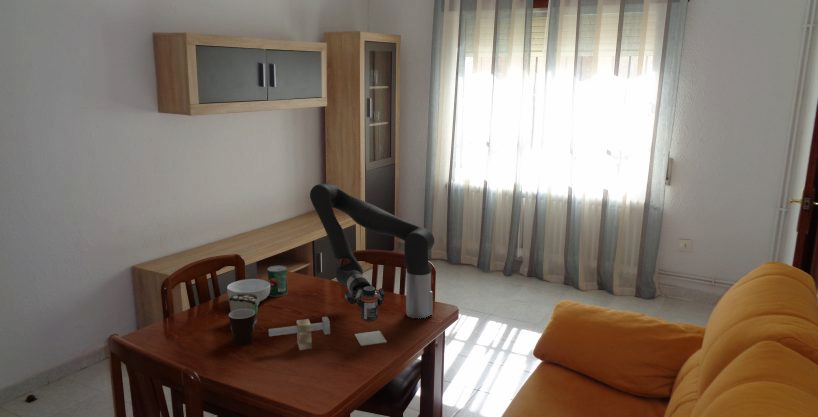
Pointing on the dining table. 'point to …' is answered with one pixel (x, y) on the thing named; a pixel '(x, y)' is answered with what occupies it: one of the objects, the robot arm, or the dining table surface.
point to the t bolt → (294, 329)
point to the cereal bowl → (250, 288)
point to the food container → (244, 302)
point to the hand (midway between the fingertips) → (371, 303)
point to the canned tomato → (277, 280)
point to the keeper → (304, 334)
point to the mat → (370, 338)
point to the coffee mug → (242, 326)
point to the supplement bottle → (369, 304)
